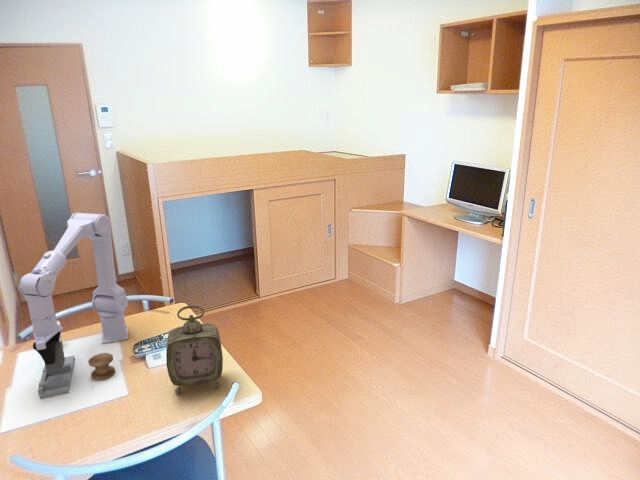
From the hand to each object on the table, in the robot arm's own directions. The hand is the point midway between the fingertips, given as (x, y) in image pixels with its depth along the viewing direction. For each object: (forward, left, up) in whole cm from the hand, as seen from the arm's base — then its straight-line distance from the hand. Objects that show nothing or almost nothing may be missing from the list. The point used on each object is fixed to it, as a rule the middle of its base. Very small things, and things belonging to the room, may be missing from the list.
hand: (52, 359), depth 128 cm
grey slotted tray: (-3, 0, -8) cm, 8 cm away
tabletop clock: (+16, +37, -8) cm, 41 cm away
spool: (0, +12, -8) cm, 14 cm away
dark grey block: (0, +1, -2) cm, 2 cm away
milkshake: (-22, -3, -8) cm, 24 cm away
